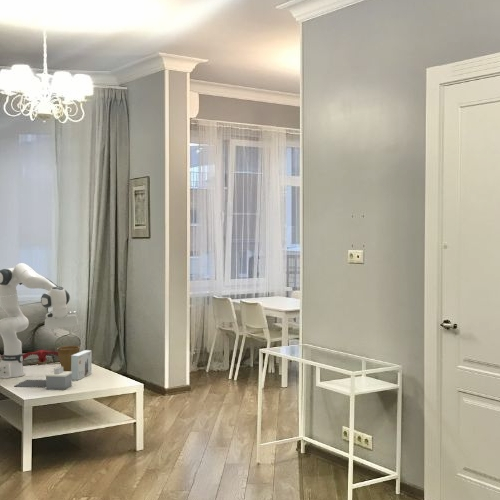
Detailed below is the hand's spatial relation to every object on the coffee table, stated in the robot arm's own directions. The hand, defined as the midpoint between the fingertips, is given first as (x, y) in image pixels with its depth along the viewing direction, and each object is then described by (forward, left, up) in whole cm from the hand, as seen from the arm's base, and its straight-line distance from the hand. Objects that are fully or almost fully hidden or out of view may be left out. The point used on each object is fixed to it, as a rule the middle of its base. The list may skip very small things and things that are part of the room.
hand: (62, 335), depth 436 cm
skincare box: (+2, +24, -31) cm, 39 cm away
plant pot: (-14, +42, -31) cm, 54 cm away
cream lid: (0, -8, -24) cm, 26 cm away
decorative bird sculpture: (-43, +64, -31) cm, 83 cm away
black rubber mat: (-19, +1, -31) cm, 36 cm away
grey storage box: (0, -8, -31) cm, 32 cm away
